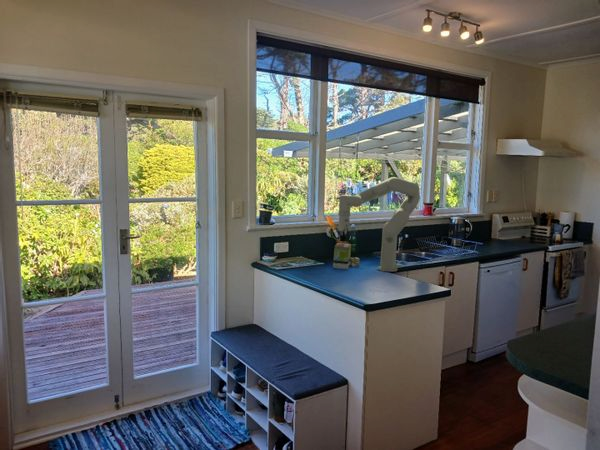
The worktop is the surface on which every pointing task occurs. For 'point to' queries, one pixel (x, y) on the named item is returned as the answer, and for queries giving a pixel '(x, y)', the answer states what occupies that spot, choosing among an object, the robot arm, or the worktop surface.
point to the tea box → (342, 256)
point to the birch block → (354, 261)
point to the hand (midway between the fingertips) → (342, 241)
